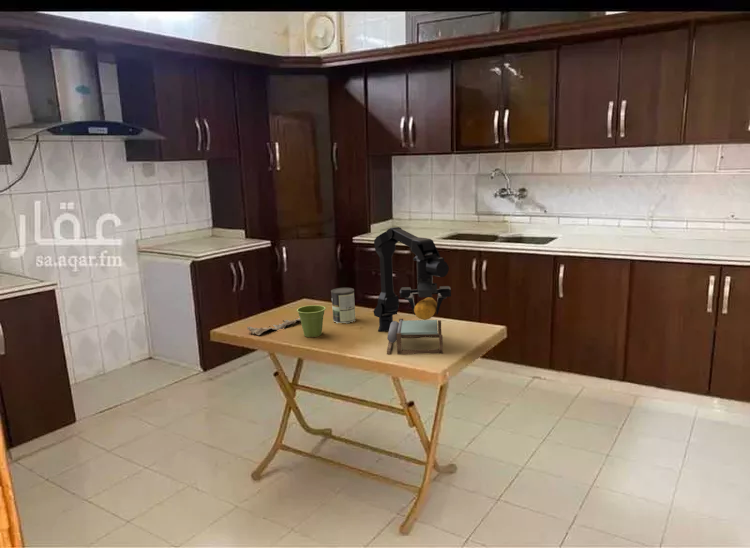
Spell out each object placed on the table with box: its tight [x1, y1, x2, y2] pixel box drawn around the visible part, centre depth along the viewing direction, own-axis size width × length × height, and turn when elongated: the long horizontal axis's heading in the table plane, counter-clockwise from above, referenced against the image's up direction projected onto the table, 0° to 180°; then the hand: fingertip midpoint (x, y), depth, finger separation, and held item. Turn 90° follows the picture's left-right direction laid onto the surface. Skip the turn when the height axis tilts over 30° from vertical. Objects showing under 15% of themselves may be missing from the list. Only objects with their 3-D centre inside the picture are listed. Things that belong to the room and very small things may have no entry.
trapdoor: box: [386, 319, 438, 344], centre depth 206 cm, size 16×18×4 cm
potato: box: [413, 297, 437, 320], centre depth 204 cm, size 7×14×7 cm, turn 154°
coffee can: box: [330, 287, 356, 324], centre depth 244 cm, size 10×10×14 cm
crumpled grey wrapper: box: [246, 318, 301, 336], centre depth 243 cm, size 34×10×3 cm, turn 141°
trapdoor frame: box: [386, 318, 444, 355], centre depth 206 cm, size 20×20×8 cm
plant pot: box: [296, 304, 326, 338], centre depth 225 cm, size 12×12×11 cm
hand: (425, 314), depth 204 cm, fingers closed on potato, 8 cm apart
